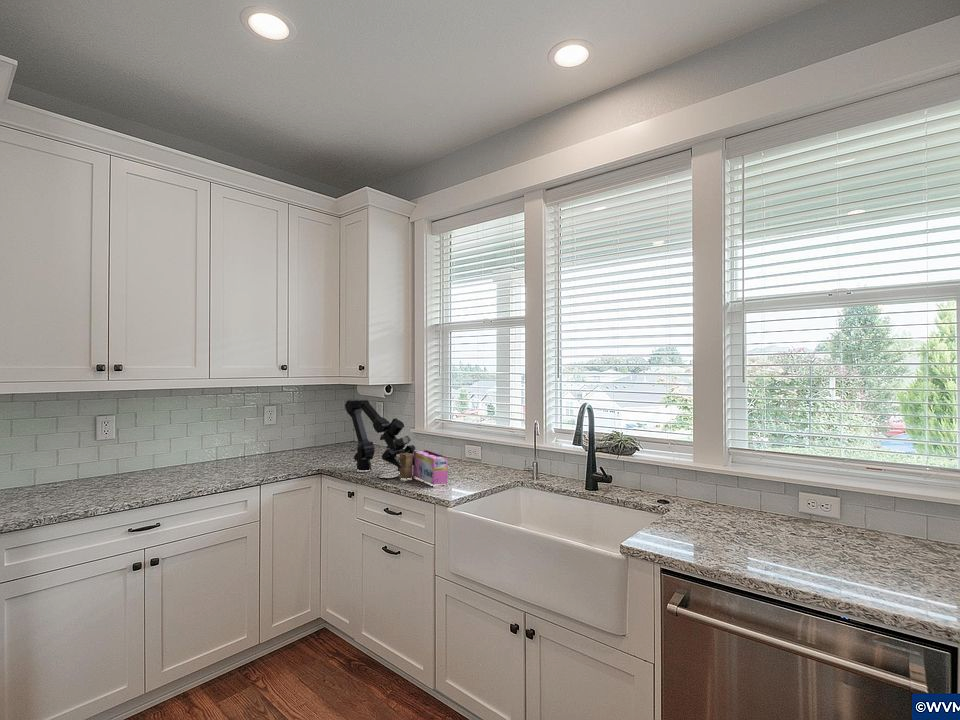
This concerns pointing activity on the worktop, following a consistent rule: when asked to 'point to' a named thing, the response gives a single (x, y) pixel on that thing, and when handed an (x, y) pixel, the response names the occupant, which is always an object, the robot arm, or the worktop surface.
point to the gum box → (430, 467)
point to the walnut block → (406, 465)
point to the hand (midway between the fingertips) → (407, 466)
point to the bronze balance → (391, 463)
